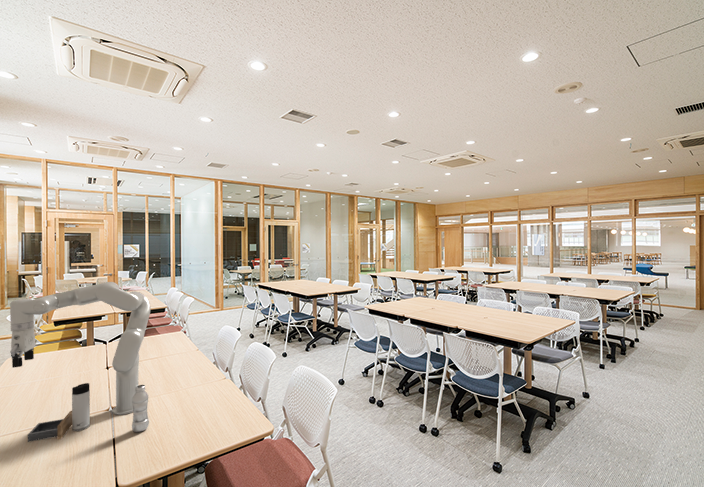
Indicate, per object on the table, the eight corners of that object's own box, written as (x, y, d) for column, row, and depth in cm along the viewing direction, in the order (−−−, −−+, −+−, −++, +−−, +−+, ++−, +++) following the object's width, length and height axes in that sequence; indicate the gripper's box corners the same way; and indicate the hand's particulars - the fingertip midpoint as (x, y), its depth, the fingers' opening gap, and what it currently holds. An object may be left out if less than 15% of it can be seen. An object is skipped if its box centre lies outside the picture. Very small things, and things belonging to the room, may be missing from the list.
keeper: (67, 425, 153) (67, 418, 153) (59, 436, 145) (58, 429, 145) (38, 430, 149) (38, 423, 149) (27, 442, 140) (27, 434, 140)
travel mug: (80, 432, 147) (80, 388, 147) (68, 430, 149) (68, 386, 149) (93, 424, 154) (93, 382, 153) (82, 423, 155) (82, 381, 155)
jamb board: (73, 422, 155) (73, 410, 155) (61, 439, 142) (61, 425, 142) (70, 423, 155) (70, 410, 155) (57, 439, 142) (57, 426, 142)
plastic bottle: (152, 427, 151) (152, 384, 151) (138, 435, 145) (138, 390, 145) (142, 424, 153) (142, 382, 153) (128, 432, 147) (127, 388, 147)
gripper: (22, 329, 144) (23, 368, 144) (42, 321, 160) (43, 355, 160) (0, 331, 141) (1, 371, 141) (22, 322, 157) (23, 358, 157)
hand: (23, 363), depth 151 cm, fingers open, 9 cm apart
